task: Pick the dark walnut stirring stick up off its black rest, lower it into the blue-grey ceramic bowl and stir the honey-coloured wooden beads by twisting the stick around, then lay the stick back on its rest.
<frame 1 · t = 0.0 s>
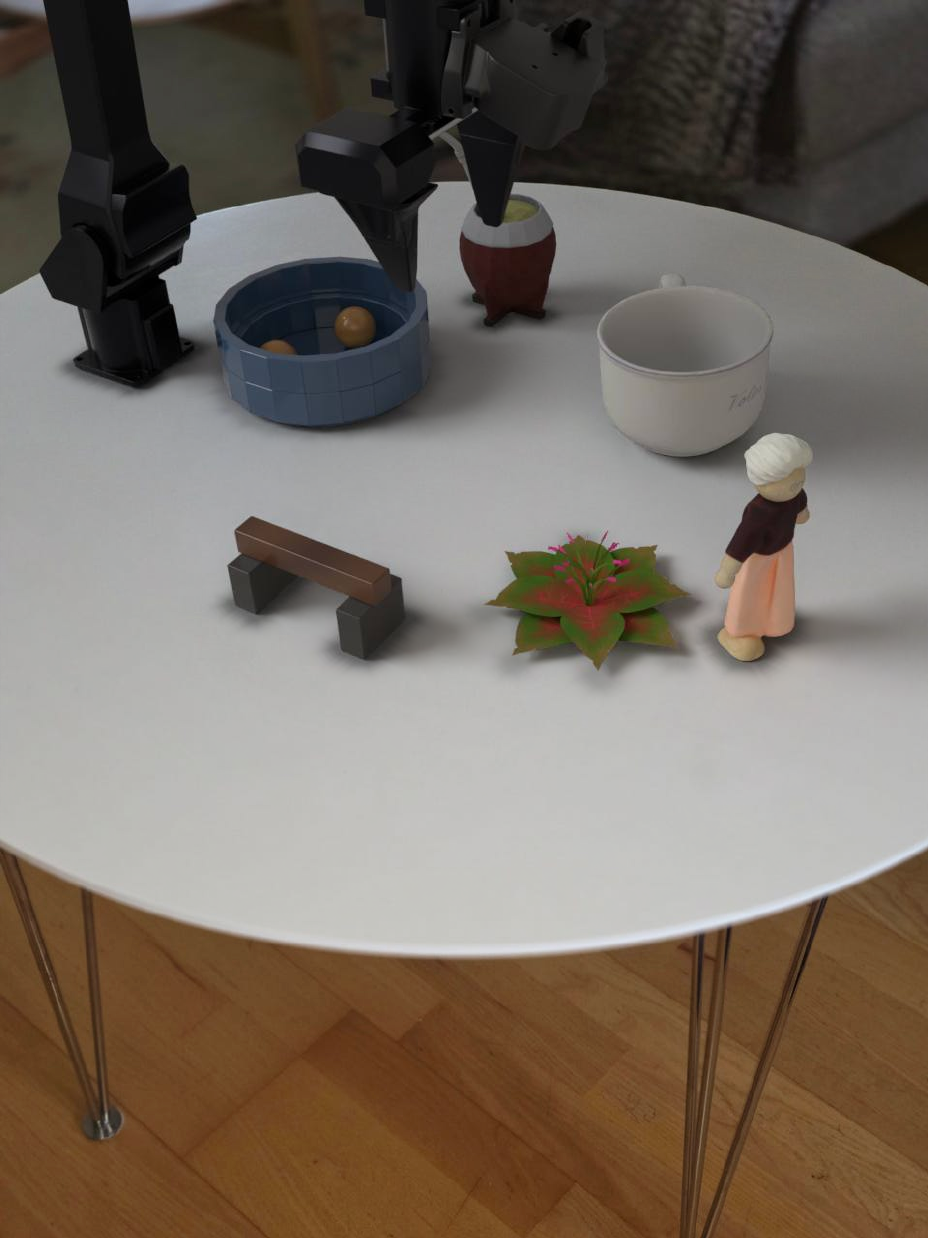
hand: (450, 256, 78), 15 cm above the table, tool pointing down, fingers open, 9 cm apart
bowl: (329, 375, 97), on the table
bead 2: (277, 361, 95), point 2 cm above the table, touching bowl
red green leafy plant: (587, 609, 77), on the table
bead 1: (355, 327, 98), point 2 cm above the table, touching bowl
bead 3: (323, 376, 93), point 2 cm above the table, touching bowl
mate gourd: (503, 312, 104), on the table
stick: (313, 571, 76), point 3 cm above the table, touching rest
grandmother figurine: (757, 631, 75), on the table
teacup: (678, 420, 92), on the table
rest: (319, 612, 78), on the table
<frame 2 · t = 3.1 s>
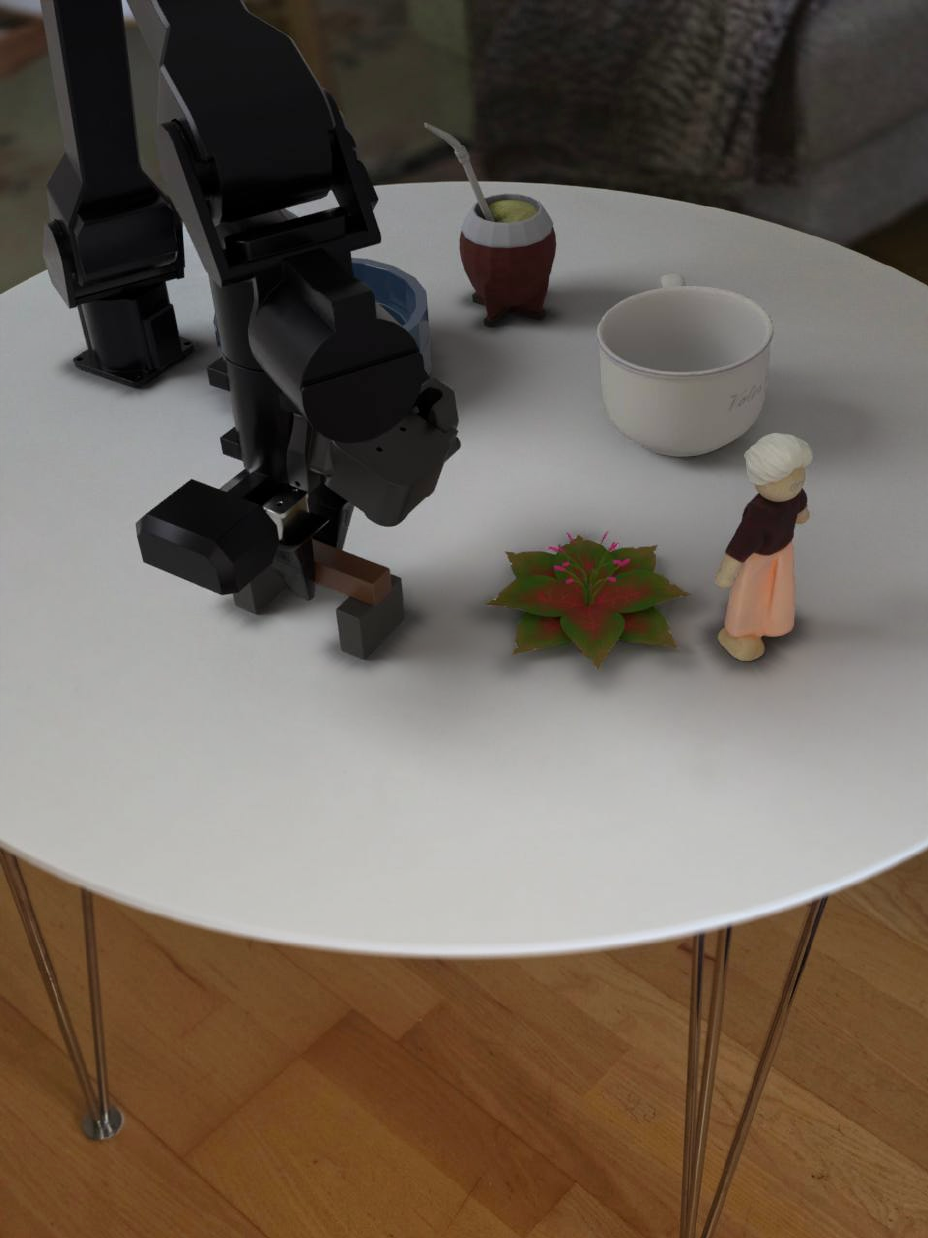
hand: (315, 587, 77), 2 cm above the table, tool pointing down, fingers closed on stick, 2 cm apart
stick: (313, 571, 76), point 3 cm above the table, touching gripper, rest
everything else where it was.
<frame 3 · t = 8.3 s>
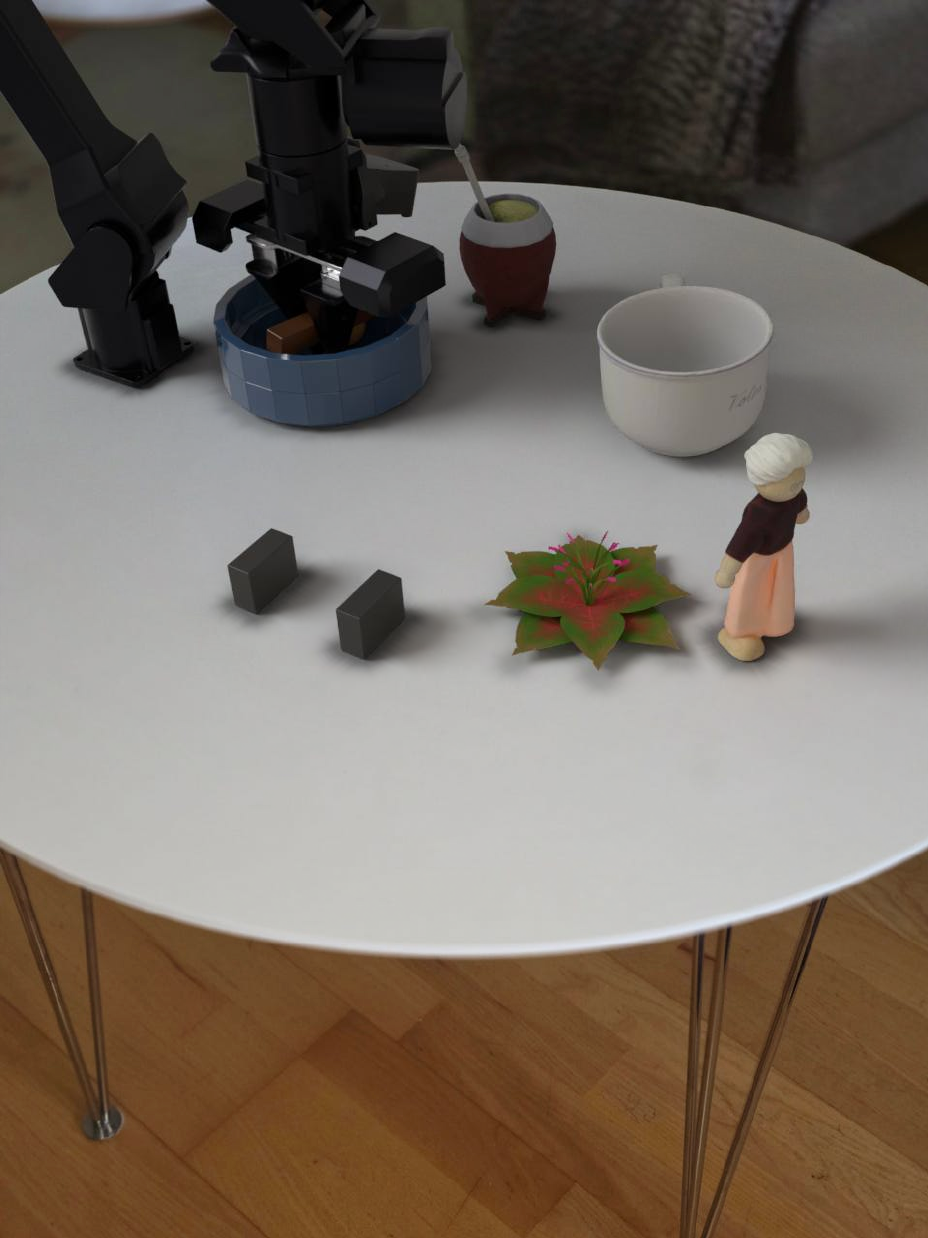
hand: (329, 357, 96), 2 cm above the table, tool pointing down, fingers closed on stick, 1 cm apart
bead 2: (292, 375, 93), point 2 cm above the table, tilted 84°, touching bowl
bead 1: (345, 324, 98), point 2 cm above the table, tilted 36°, touching bowl
bead 3: (343, 377, 93), point 2 cm above the table, tilted 54°, touching bowl
stick: (325, 331, 95), point 4 cm above the table, tilted 8°, touching gripper
everything else where it was.
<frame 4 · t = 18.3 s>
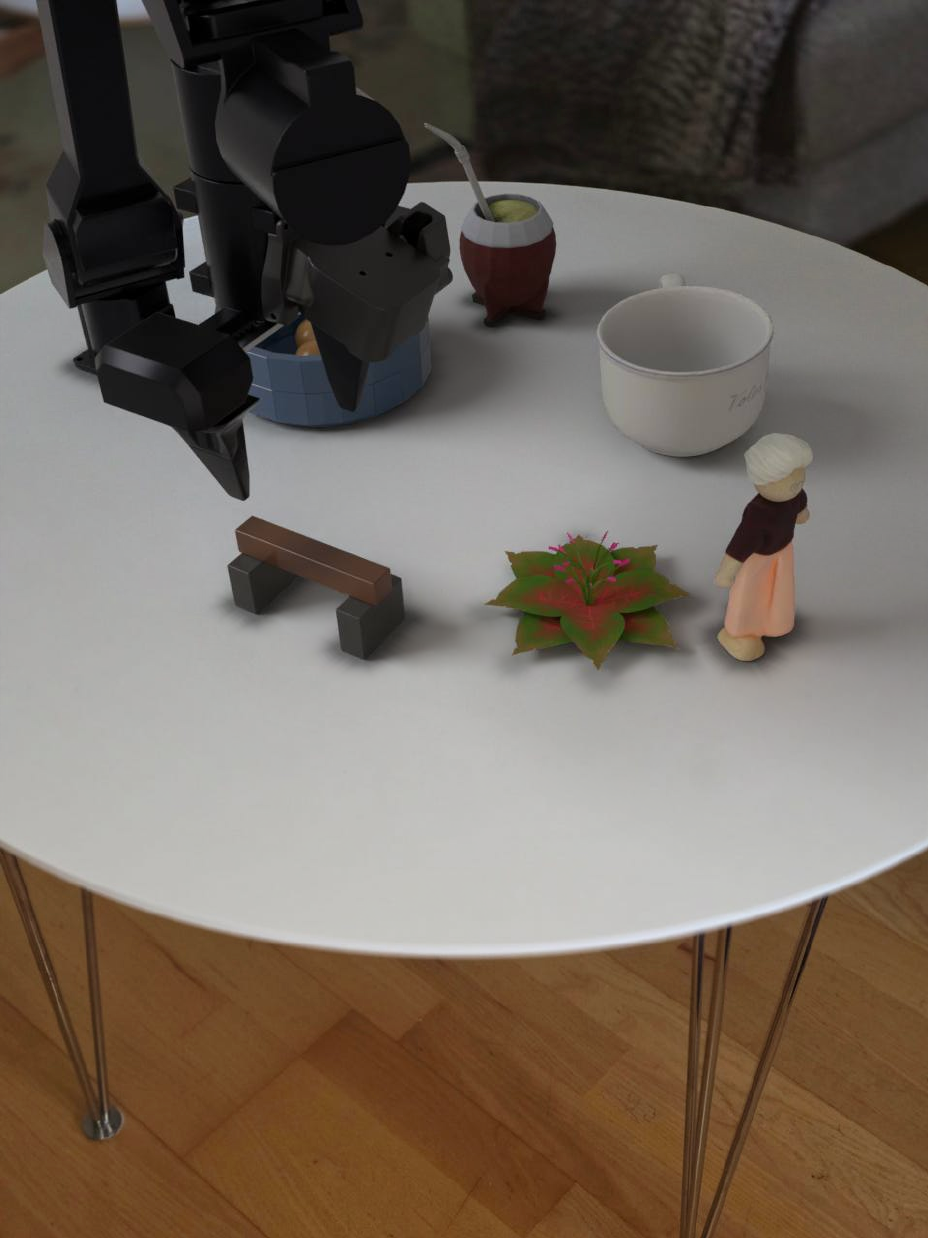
hand: (296, 451, 71), 11 cm above the table, tool pointing down, fingers open, 9 cm apart
bead 2: (315, 361, 95), point 2 cm above the table, tilted 63°, touching bowl
bead 1: (316, 337, 97), point 2 cm above the table, tilted 94°, touching bowl
bead 3: (362, 353, 95), point 2 cm above the table, tilted 119°, touching bowl
stick: (314, 570, 76), point 3 cm above the table, touching rest
everything else where it was.
at the end: bead 1 moved 3.0 cm from its start; stick 0.0 cm off-centre on the rest, point 3.0 cm above the rest's base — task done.
